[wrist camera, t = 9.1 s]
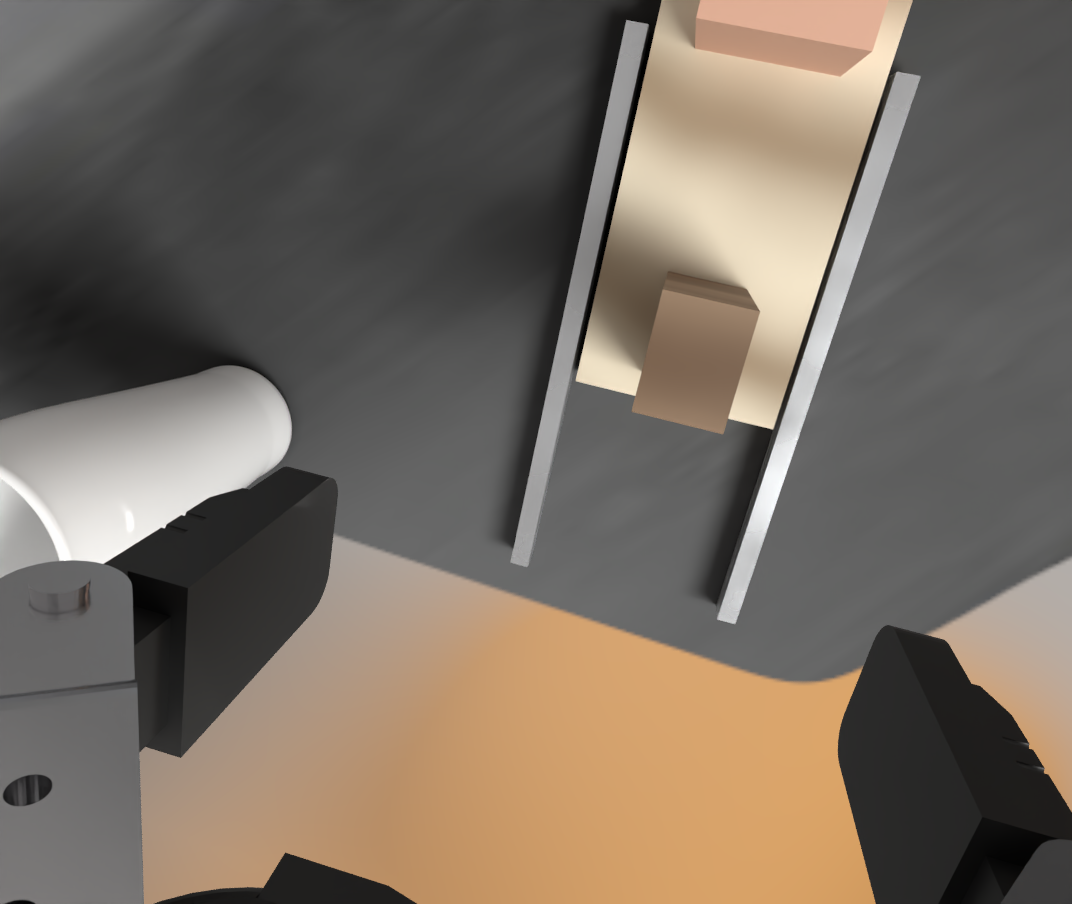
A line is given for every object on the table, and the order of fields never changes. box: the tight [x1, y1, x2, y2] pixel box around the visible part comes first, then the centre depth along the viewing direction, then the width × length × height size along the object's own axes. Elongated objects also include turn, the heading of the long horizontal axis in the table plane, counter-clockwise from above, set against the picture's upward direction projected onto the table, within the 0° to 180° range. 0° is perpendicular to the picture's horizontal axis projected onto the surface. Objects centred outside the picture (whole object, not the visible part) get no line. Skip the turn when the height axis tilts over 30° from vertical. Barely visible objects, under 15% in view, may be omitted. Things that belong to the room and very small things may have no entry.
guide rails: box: [511, 20, 921, 624], centre depth 31 cm, size 22×10×1 cm, turn 168°
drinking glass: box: [0, 365, 292, 578], centre depth 30 cm, size 7×7×15 cm
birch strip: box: [576, 0, 913, 434], centre depth 25 cm, size 22×8×8 cm, turn 168°
